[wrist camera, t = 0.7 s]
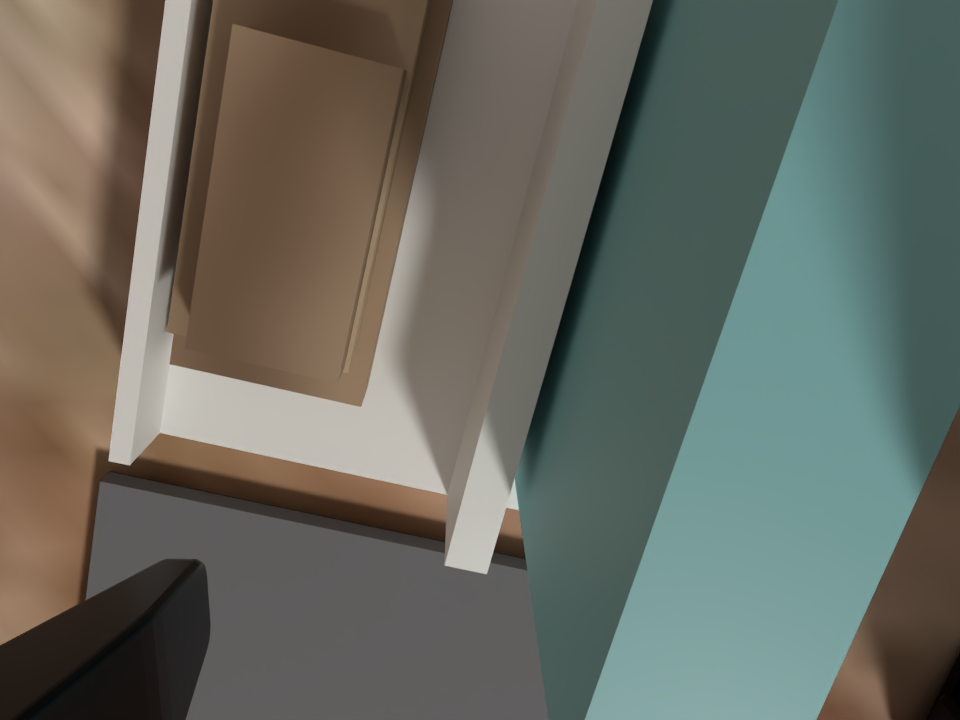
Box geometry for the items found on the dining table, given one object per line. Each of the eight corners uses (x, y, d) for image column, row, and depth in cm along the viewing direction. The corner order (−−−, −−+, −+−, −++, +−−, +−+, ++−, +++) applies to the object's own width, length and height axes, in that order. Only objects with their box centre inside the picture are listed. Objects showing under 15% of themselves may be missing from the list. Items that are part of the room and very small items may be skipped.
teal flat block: (774, 12, 18) (1195, -111, 8) (618, 480, 22) (765, 831, 11) (648, -24, 18) (909, -202, 7) (511, 456, 21) (558, 794, 11)
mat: (655, 586, 24) (659, 598, 23) (571, 817, 26) (573, 833, 26) (109, 471, 22) (99, 481, 22) (77, 728, 25) (68, 742, 24)
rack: (836, -35, 19) (946, -75, 15) (643, 520, 23) (684, 615, 19) (241, -209, 18) (170, -309, 13) (154, 414, 22) (79, 489, 18)
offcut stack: (459, -25, 18) (458, -56, 14) (367, 387, 21) (348, 444, 17) (252, -83, 17) (201, -128, 14) (188, 346, 20) (133, 396, 17)
